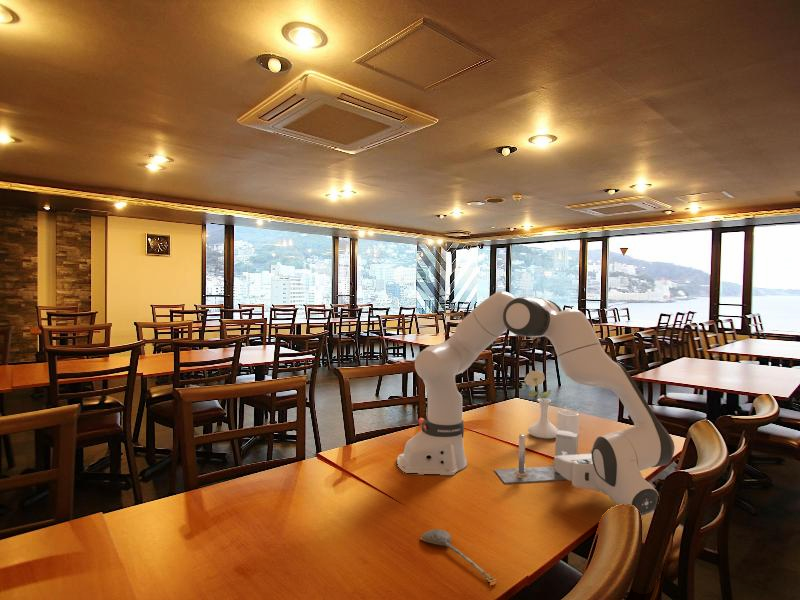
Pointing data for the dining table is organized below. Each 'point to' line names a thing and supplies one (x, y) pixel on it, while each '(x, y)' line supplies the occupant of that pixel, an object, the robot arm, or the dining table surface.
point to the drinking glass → (568, 421)
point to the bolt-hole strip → (529, 475)
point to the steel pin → (521, 456)
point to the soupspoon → (449, 546)
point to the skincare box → (566, 443)
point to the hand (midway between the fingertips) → (577, 452)
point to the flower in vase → (542, 425)
